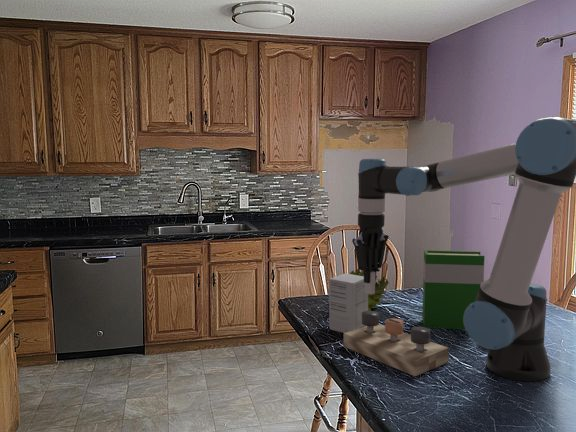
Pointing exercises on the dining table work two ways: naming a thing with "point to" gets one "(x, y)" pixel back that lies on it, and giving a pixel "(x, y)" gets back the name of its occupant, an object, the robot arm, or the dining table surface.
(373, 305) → the green leafy plant
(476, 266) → the hardback book
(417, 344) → the black knob near
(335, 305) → the supplement box
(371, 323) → the black knob far
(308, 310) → the dining table surface
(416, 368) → the mount
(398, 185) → the robot arm
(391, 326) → the orange knob middle
